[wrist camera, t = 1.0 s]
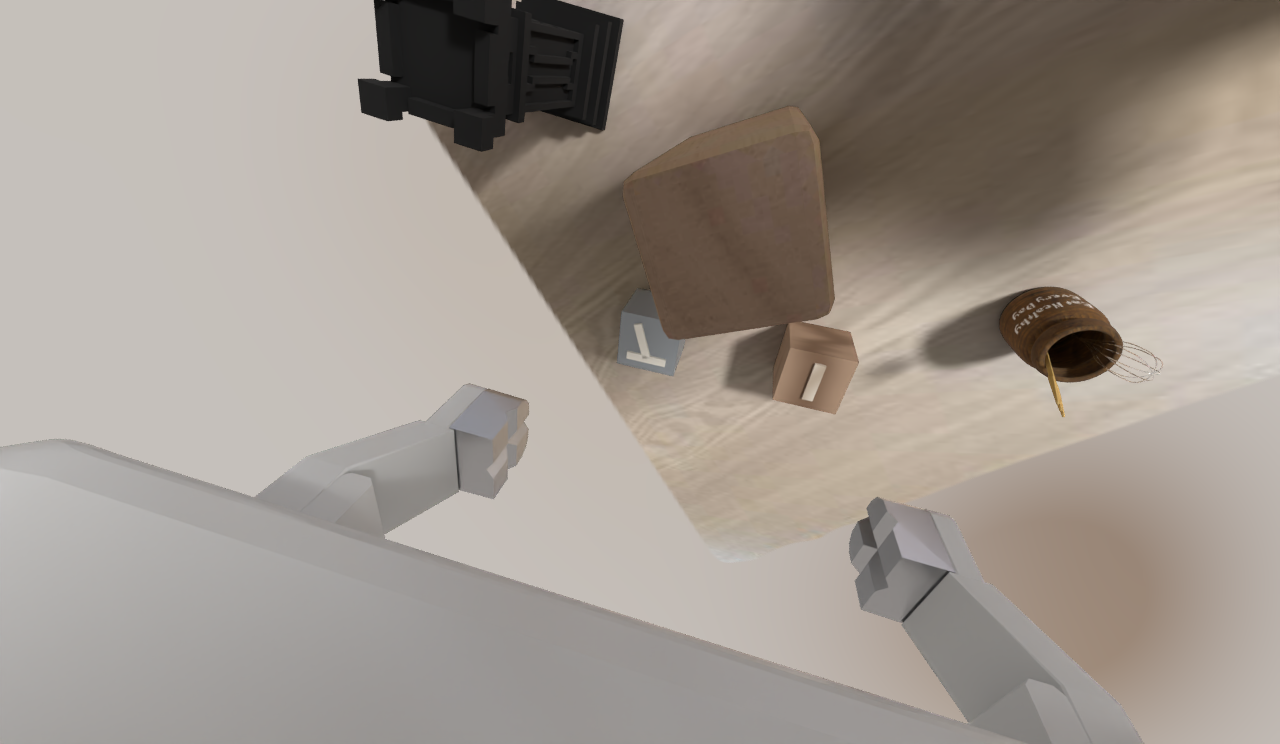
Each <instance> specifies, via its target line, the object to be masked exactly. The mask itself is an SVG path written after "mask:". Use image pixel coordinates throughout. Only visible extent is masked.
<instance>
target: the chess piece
mask: <svg viewBox="0 0 1280 744" xmlns="http://www.w3.org/2000/svg"><path fill="white" fill-rule="evenodd" d="M511 6H512V0H374V8H375V18H376V31H377V41H378V53H379V65H380V72H381V73H383V74H387V75H390V76H391V81H379V80H376V79H358V86H359V94H360V103H361V112H362V113H364V114H367V115H370V116H373V117H376V118H380V119H383V120H386V121H394V120H402V119H403V117H402V112H406V111H408V112H409V114H411V115H414V116H417V117H420V118H423V119H426V120H429V121H432V122H435V123H438V124H442V125H445V126H448V127H451V128H454V143H456V144H459V145H462V146H465V147H468V148H472V149H475V150H478V151H481V152H482V151H486V150H491V149H493V138H495V137H500V136H505V119H507V120H510V121H514V122H517V123H521V122H524V116H525V112H533V111H543V112H546V113H549V114H552V115H555V116H558V117H562V118H565V119H568V120H571V121H574V122H578V123H581V124H584V125H587V126H590V127H593V128H597V129H600V130H605V126H606V121H607V115H608V109H609V103H610V97H611V91H612V85H613V80H614V74H615V68H616V62H617V56H618V50H619V44H620V39H621V33H622V27H623V21H624V20H623V19H620V18H616V17H613V16H610V15H606V14H603V13H599V12H596V11H592V10H589V9H586V8H582V7H579V6H575V5H572V4H569V3H565V2H562V1H558V0H522V1H521V2H519V1H516V9H514V8H511Z"/></svg>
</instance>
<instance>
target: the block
mask: <svg viewBox="0 0 1280 744" xmlns="http://www.w3.org/2000/svg"><path fill="white" fill-rule="evenodd" d="M623 199H624V202H625V205H626V209H627V212H628V216H629V219H630V222H631V226H632V229H633V232H634V236H635V239H636V242H637V246H638V249H639V253H640V256H641V259H642V263H643V266H644V269H645V273H646V276H647V279H648V283H649V286H650V289H651V293H652V296H653V300H654V303H655V306H656V310H657V313H658V316H659V320H660V323H661V326H662V329H663V331H664V333H665V334H666V335H667V337H668V338H669V339H674V340H681V339H688V338H695V337H701V336H708V335H715V334H721V333H728V332H735V331H741V330H748V329H755V328H761V327H768V326H775V325H781V324H788V323H795V322H801V321H808V320H815V319H819V318H821V317H823V316H825V315H828V314H829V313H830V311H831V308H832V305H833V303H834V300H835V296H834V285H833V275H832V265H831V255H830V244H829V234H828V224H827V213H826V203H825V193H824V182H823V172H822V162H821V152H820V141H819V139H818V137H817V135H816V134H815V132H814V130H813V128H812V127H811V125H810V124H809V122H808V121H807V119H806V118H805V116H804V115H803V114H802V112H801V111H800V109H799V108H798V107H792V106H787V107H784V108H780V109H777V110H774V111H771V112H768V113H765V114H762V115H758V116H755V117H752V118H749V119H746V120H743V121H740V122H736V123H733V124H730V125H727V126H724V127H721V128H718V129H715V130H711V131H708V132H705V133H702V134H699V135H696V136H693V137H690V138H688V139H686V140H685V141H683V142H682V143H680V144H679V145H677V146H675V147H674V148H672V149H671V150H669V151H667V152H666V153H664V154H663V155H661V156H659V157H658V158H656V159H655V160H653V161H651V162H650V163H648V164H647V165H645V166H643V167H642V168H640V169H639V170H637V171H635V172H634V173H633V174H632V175H631V176H629V177H628V178H627V179H626V180H625V181H624V186H623Z"/></svg>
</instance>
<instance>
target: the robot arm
mask: <svg viewBox="0 0 1280 744" xmlns="http://www.w3.org/2000/svg"><path fill="white" fill-rule="evenodd" d="M528 415H529V403H528V402H527V400H524V399H521V398H517V397H514V396H511V395H508V394H504V393H501V392H497V391H494V390H491V389H486V388H483V387H480V386H476V385H473V384H466V385H463V386H462V387H461V388H460V389H459V390H458V391H457V392H456V393H455V394H454V395H453V396H452V397H451V398H450V399H449V400H448V401H447V402H446V403H445V404H444V405H442V406H441V407H440V408H439V409H438V410H437V411H436V412H435V413H434V414H433V415H432V416H431V417H430V418H429V419H428V420H427V421H426V422H424V421H421V420H419V421H415V422H412V423H409V424H406V425H403V426H400V427H397V428H394V429H390V430H387V431H384V432H381V433H378V434H375V435H372V436H369V437H366V438H362V439H359V440H356V441H353V442H350V443H347V444H344V445H341V446H337V447H334V448H331V449H328V450H325V451H322V452H319V453H316V454H312V455H310V456H307V457H305V458H304V459H302V460H301V461H300V462H299V463H297V464H296V465H295V466H294V467H292V468H291V469H290V470H288V471H287V472H286V473H285V474H283V475H282V476H281V477H279V478H278V479H277V480H276V481H274V482H273V483H272V484H271V485H269V486H268V487H267V488H265V489H264V490H263V491H262V492H260V493H259V494H258V495H257V496H256V497H251V496H248V495H245V494H242V493H238V492H236V491H232V490H229V489H226V488H223V487H219V486H216V485H214V484H210V483H207V482H204V481H201V480H197V479H194V478H191V477H188V476H185V475H182V474H179V473H175V472H173V471H169V470H166V469H163V468H160V467H157V466H154V465H150V464H147V463H144V462H140V461H138V460H134V459H131V458H128V457H125V456H122V455H119V454H116V453H113V452H110V451H107V450H105V449H102V448H98V447H96V446H93V445H90V444H86V443H82V442H78V441H74V440H64V439H49V440H42V441H36V442H29V443H23V444H17V445H10V446H4V447H0V744H1144V743H1143V741H1142V739H1141V738H1140V736H1139V734H1138V733H1137V731H1136V729H1135V727H1134V726H1133V724H1132V723H1131V721H1130V719H1129V717H1128V716H1127V714H1126V713H1125V711H1124V709H1123V708H1122V706H1121V704H1119V703H1118V702H1117V701H1116V700H1115V699H1114V698H1113V697H1112V696H1111V695H1110V694H1109V693H1108V692H1106V690H1104V689H1103V688H1102V687H1101V686H1100V685H1099V684H1098V683H1097V682H1096V681H1095V680H1094V679H1093V678H1092V677H1091V676H1090V675H1089V674H1087V673H1086V672H1085V671H1084V670H1083V669H1082V668H1081V667H1080V666H1079V665H1078V664H1077V663H1076V662H1075V661H1073V659H1071V658H1070V657H1069V656H1068V655H1067V654H1066V653H1065V652H1064V651H1063V650H1062V649H1061V648H1060V647H1059V646H1058V645H1056V644H1055V643H1054V642H1053V641H1052V640H1051V639H1050V638H1049V637H1048V636H1047V635H1046V634H1045V633H1044V632H1042V630H1040V628H1038V627H1037V626H1036V625H1035V624H1034V623H1033V622H1032V621H1031V620H1030V619H1029V618H1028V617H1027V616H1026V615H1025V614H1024V613H1022V612H1021V611H1020V610H1019V609H1018V608H1017V607H1016V606H1015V605H1014V604H1013V603H1012V602H1011V601H1010V600H1008V598H1006V597H1005V596H1004V595H1003V594H1002V593H1001V592H1000V591H999V590H998V589H997V588H996V587H995V586H994V585H992V584H989V583H986V582H984V580H983V578H982V576H981V573H980V571H979V569H978V567H977V565H976V563H975V561H974V559H973V557H972V555H971V553H970V551H969V549H968V546H967V544H966V542H965V540H964V538H963V536H962V534H961V532H960V530H959V528H958V526H957V523H956V522H955V520H954V519H953V518H952V517H951V516H950V515H946V514H942V513H938V512H934V511H930V510H927V509H921V508H917V507H913V506H910V505H906V504H902V503H899V502H895V501H891V500H887V499H884V498H880V497H876V498H875V499H873V500H872V501H871V502H870V504H869V505H868V507H867V511H868V515H869V517H867V518H865V519H863V520H860V521H858V522H857V524H856V526H855V528H854V529H853V531H852V534H851V538H850V543H849V554H850V559H851V563H852V564H853V566H854V567H855V568H856V569H857V571H858V572H859V573H860V575H859V576H858V577H857V579H856V580H855V583H856V588H857V593H858V598H859V603H860V607H861V610H864V611H867V612H870V613H873V614H876V615H879V616H882V617H885V618H888V619H891V620H894V621H897V622H901V623H903V624H902V626H903V628H904V629H905V631H906V632H907V634H908V635H909V637H910V638H911V639H912V641H913V642H914V644H915V645H916V647H917V648H918V650H919V651H920V652H921V654H922V656H923V657H924V658H925V660H926V661H927V663H928V664H929V666H930V667H931V669H932V670H933V672H934V673H935V674H936V676H937V677H938V679H939V680H940V682H941V683H942V685H943V686H944V687H945V689H946V691H947V692H948V693H949V695H950V696H951V698H952V699H953V701H954V702H955V703H956V705H957V707H958V708H959V709H960V711H961V712H962V714H963V715H964V717H965V718H966V719H967V721H968V724H966V723H963V722H960V721H957V720H953V719H950V718H947V717H944V716H941V715H938V714H934V713H931V712H928V711H925V710H922V709H919V708H915V707H913V706H909V705H906V704H903V703H900V702H897V701H894V700H890V699H887V698H884V697H881V696H878V695H875V694H871V693H869V692H865V691H862V690H859V689H856V688H853V687H850V686H846V685H843V684H840V683H837V682H834V681H831V680H827V679H824V678H821V677H818V676H815V675H812V674H809V673H805V672H802V671H799V670H796V669H793V668H790V667H786V666H783V665H780V664H777V663H774V662H771V661H767V660H764V659H761V658H758V657H755V656H752V655H748V654H745V653H742V652H739V651H736V650H733V649H730V648H726V647H723V646H720V645H717V644H714V643H711V642H707V641H704V640H701V639H698V638H695V637H692V636H689V635H686V634H682V633H679V632H676V631H673V630H670V629H667V628H664V627H660V626H657V625H654V624H651V623H648V622H645V621H642V620H638V619H635V618H632V617H629V616H626V615H623V614H620V613H616V612H613V611H610V610H607V609H604V608H601V607H598V606H595V605H591V604H588V603H585V602H582V601H579V600H575V599H573V598H569V597H566V596H563V595H560V594H556V593H554V592H550V591H547V590H544V589H541V588H538V587H535V586H531V585H528V584H525V583H522V582H519V581H516V580H513V579H510V578H506V577H503V576H500V575H497V574H494V573H491V572H487V571H484V570H481V569H478V568H475V567H472V566H468V565H465V564H462V563H459V562H456V561H453V560H450V559H447V558H443V557H440V556H437V555H434V554H431V553H428V552H425V551H421V550H418V549H415V548H412V547H409V546H405V545H402V544H399V543H396V542H393V541H390V540H387V539H385V536H384V534H386V533H388V532H389V531H391V530H393V529H395V528H396V527H398V526H400V525H402V524H403V523H405V522H407V521H409V520H410V519H412V518H414V517H416V516H417V515H419V514H421V513H423V512H424V511H426V510H428V509H430V508H431V507H433V506H435V505H437V504H438V503H440V502H442V501H443V500H445V499H447V498H449V497H450V496H452V495H454V494H456V493H457V492H459V490H462V491H465V492H469V493H473V494H477V495H481V496H484V497H488V498H491V499H494V498H495V497H496V495H497V494H498V492H499V491H500V489H501V488H502V486H503V485H504V483H505V482H506V480H507V478H508V477H507V476H508V469H509V468H511V467H514V466H516V465H517V463H518V462H519V460H520V459H521V457H522V455H523V452H524V450H525V447H526V444H527V439H528V427H527V426H526V424H525V423H524V420H525V419H526V418H527V416H528Z"/></svg>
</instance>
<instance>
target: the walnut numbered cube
mask: <svg viewBox="0 0 1280 744" xmlns="http://www.w3.org/2000/svg"><path fill="white" fill-rule="evenodd" d="M858 363H859V361H858V357H857V354H856V350H855V347H854V343H853V339H852V336H851V332H848V331H843V330H838V329H833V328H828V327H823V326H819V325H814V324H809V323H804V322H795V323H788V325H787V328H786V331H785V334H784V337H783V340H782V343H781V346H780V349H779V352H778V355H777V358H776V361H775V364H774V367H773V400H776V401H781V402H785V403H789V404H793V405H798V406H802V407H806V408H810V409H815V410H819V411H823V412H828V413H832V414H836V412H837V410H838V407H839V405H840V403H841V401H842V399H843V396H844V394H845V392H846V390H847V388H848V385H849V383H850V381H851V379H852V377H853V374H854V372H855V370H856V368H857V366H858Z"/></svg>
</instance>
